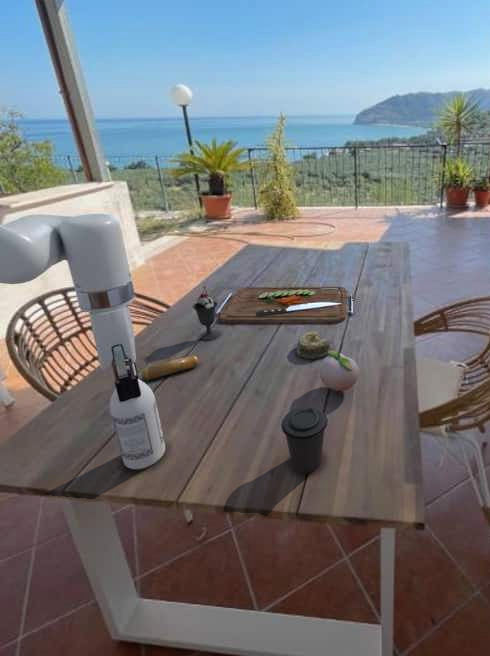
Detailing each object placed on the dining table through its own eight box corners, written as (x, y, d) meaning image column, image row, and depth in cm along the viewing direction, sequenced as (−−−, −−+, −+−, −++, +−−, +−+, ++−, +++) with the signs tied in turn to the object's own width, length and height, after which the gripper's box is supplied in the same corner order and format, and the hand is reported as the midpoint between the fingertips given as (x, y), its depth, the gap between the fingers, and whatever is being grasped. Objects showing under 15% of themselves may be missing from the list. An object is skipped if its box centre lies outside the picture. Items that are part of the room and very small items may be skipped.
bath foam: (145, 438, 76) (124, 349, 69) (174, 446, 74) (156, 356, 67) (114, 465, 70) (88, 371, 63) (145, 475, 68) (122, 379, 61)
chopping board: (353, 289, 147) (353, 282, 146) (353, 322, 122) (353, 314, 121) (234, 290, 147) (233, 282, 145) (209, 323, 121) (208, 314, 120)
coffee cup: (327, 442, 76) (325, 400, 72) (330, 476, 68) (329, 431, 65) (284, 447, 74) (281, 404, 71) (283, 482, 67) (279, 436, 63)
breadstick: (143, 384, 92) (140, 373, 91) (142, 377, 95) (139, 367, 94) (200, 367, 99) (199, 357, 98) (198, 361, 101) (196, 351, 100)
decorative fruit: (311, 390, 91) (310, 353, 87) (336, 374, 96) (335, 339, 93) (340, 408, 85) (340, 369, 81) (365, 390, 91) (365, 353, 87)
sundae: (216, 328, 118) (210, 282, 113) (224, 336, 114) (218, 289, 108) (194, 335, 114) (186, 288, 109) (202, 344, 110) (194, 295, 104)
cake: (312, 365, 101) (310, 348, 99) (289, 351, 107) (286, 335, 105) (340, 348, 107) (338, 331, 105) (316, 336, 114) (314, 320, 112)
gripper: (80, 281, 66) (104, 373, 72) (74, 320, 52) (104, 429, 59) (130, 273, 69) (149, 361, 76) (137, 308, 56) (159, 411, 62)
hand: (129, 390), depth 67 cm, fingers closed on bath foam, 3 cm apart
